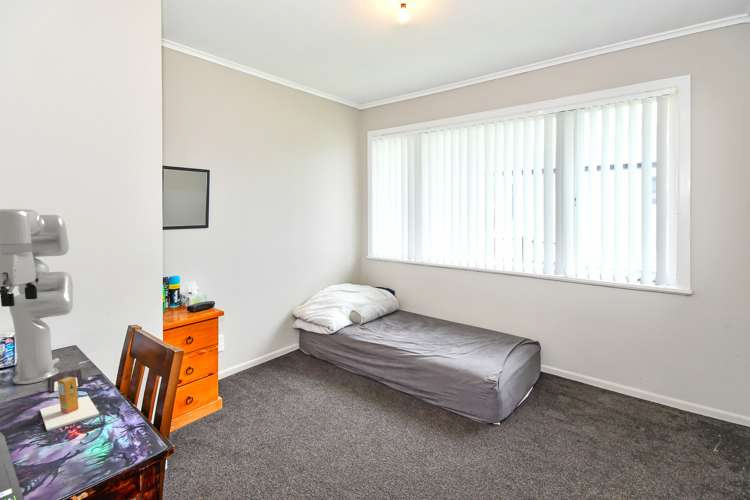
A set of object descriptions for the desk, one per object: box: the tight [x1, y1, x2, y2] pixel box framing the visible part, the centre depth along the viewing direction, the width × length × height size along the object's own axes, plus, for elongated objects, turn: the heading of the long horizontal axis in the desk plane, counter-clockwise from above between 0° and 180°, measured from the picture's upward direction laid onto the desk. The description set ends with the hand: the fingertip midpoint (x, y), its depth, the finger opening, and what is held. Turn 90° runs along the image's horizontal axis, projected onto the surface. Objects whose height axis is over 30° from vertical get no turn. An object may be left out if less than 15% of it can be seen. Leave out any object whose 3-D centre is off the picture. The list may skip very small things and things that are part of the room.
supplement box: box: [58, 377, 79, 414], centre depth 115 cm, size 3×3×10 cm
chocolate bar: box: [48, 368, 84, 394], centre depth 137 cm, size 9×1×18 cm
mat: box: [39, 395, 100, 432], centre depth 115 cm, size 16×12×1 cm
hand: (20, 302), depth 121 cm, fingers open, 9 cm apart
